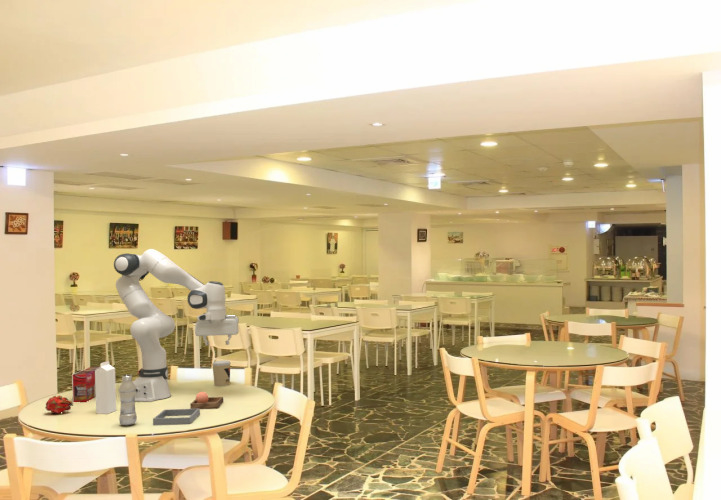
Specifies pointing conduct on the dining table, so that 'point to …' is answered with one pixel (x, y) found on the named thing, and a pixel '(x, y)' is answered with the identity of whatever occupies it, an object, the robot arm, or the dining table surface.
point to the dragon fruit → (58, 404)
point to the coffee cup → (221, 373)
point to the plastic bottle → (127, 401)
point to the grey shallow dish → (176, 412)
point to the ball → (202, 397)
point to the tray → (211, 403)
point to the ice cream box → (84, 385)
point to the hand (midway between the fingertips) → (217, 344)
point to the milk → (105, 389)
